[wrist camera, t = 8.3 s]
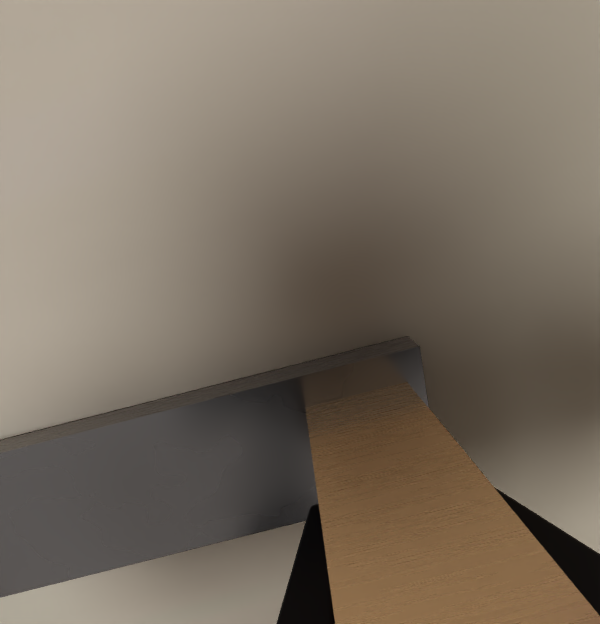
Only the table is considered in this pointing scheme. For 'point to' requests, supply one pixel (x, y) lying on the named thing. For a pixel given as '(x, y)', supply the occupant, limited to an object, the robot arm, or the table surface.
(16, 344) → the table surface
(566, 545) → the robot arm
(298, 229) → the table surface
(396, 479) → the try square
